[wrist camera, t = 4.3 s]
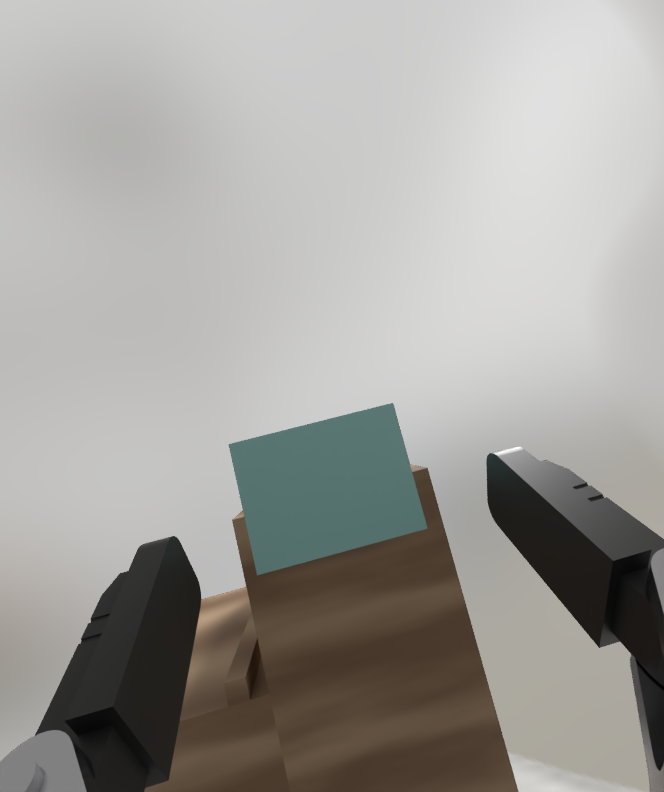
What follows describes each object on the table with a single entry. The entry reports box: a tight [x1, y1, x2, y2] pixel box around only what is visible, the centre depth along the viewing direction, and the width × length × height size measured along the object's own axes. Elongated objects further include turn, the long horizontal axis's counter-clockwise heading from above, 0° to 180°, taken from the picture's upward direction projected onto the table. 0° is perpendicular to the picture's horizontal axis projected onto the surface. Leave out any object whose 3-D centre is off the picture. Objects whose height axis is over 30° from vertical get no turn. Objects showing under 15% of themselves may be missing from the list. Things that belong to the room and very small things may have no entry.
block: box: [229, 403, 428, 575], centre depth 21 cm, size 26×4×3 cm, turn 2°
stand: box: [144, 465, 518, 792], centre depth 24 cm, size 16×20×33 cm
